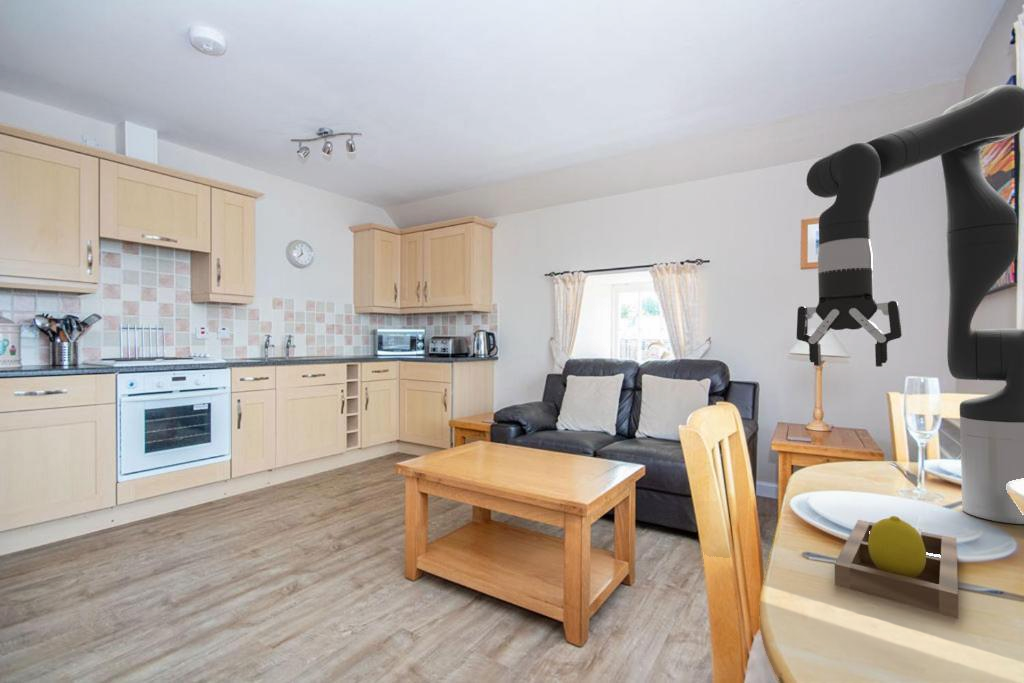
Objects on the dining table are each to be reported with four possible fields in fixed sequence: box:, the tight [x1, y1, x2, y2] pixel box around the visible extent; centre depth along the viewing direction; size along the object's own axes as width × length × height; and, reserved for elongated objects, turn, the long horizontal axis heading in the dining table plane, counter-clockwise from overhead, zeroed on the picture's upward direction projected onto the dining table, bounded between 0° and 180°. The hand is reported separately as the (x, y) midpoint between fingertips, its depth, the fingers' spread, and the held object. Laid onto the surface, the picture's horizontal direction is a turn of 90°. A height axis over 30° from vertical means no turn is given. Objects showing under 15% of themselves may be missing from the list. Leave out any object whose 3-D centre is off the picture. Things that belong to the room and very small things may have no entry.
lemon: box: [868, 515, 926, 578], centre depth 59 cm, size 6×6×8 cm
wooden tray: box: [834, 519, 959, 619], centre depth 62 cm, size 20×11×4 cm, turn 137°
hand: (847, 366), depth 80 cm, fingers open, 8 cm apart
